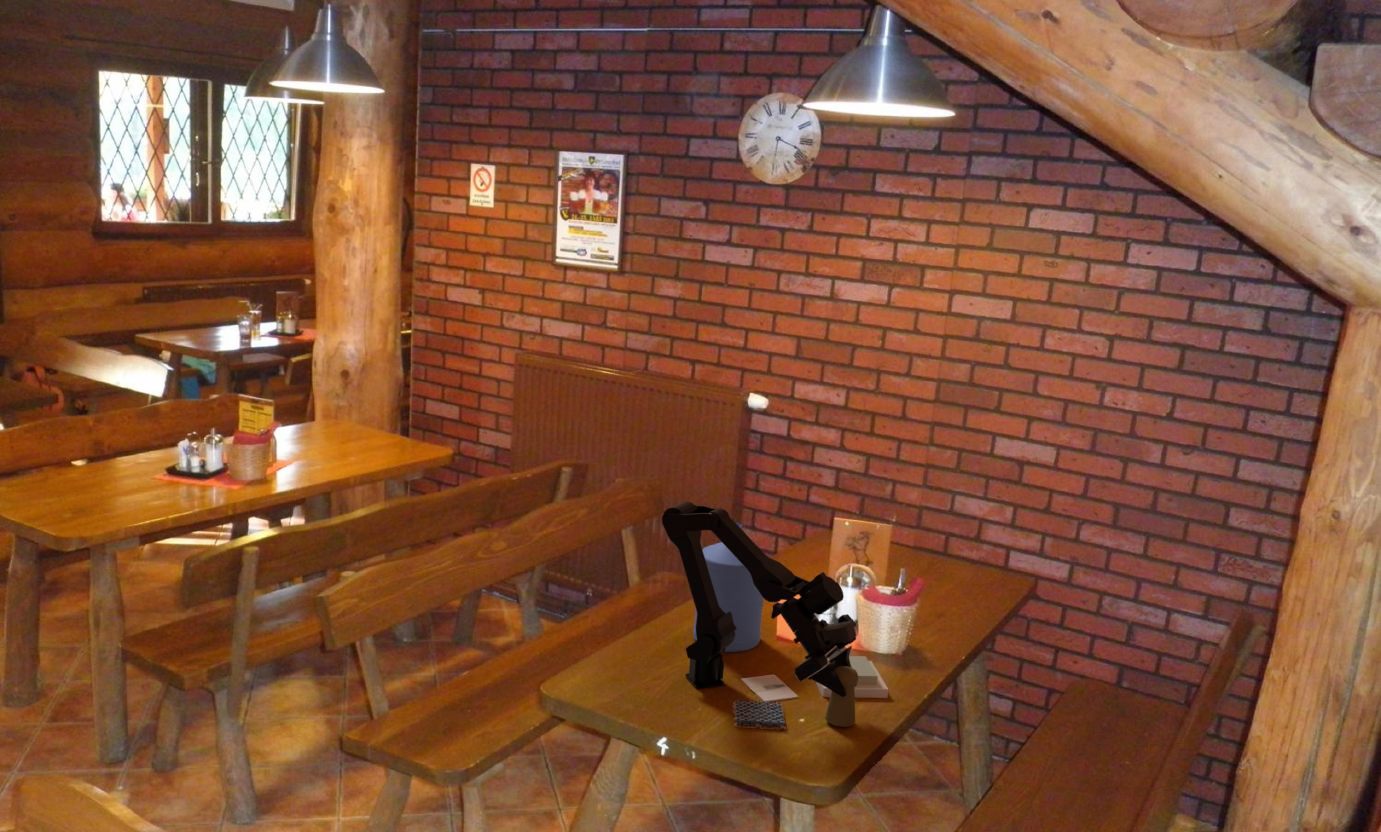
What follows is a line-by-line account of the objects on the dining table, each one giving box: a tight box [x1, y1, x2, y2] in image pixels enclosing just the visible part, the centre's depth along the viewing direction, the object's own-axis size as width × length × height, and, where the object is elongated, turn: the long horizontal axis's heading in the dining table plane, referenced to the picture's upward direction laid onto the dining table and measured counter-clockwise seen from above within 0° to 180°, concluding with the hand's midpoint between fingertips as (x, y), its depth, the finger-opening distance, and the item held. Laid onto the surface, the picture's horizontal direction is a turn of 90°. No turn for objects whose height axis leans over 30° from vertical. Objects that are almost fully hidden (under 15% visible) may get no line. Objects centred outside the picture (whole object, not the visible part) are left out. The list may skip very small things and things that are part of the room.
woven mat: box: [732, 698, 787, 731], centre depth 237 cm, size 10×11×2 cm
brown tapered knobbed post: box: [825, 666, 858, 728], centre depth 235 cm, size 6×6×11 cm
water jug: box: [692, 522, 764, 653], centre depth 271 cm, size 16×16×28 cm
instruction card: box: [740, 674, 799, 703], centre depth 250 cm, size 8×11×1 cm
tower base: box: [814, 655, 889, 699], centre depth 255 cm, size 14×14×4 cm
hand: (850, 691), depth 234 cm, fingers closed on brown tapered knobbed post, 5 cm apart
